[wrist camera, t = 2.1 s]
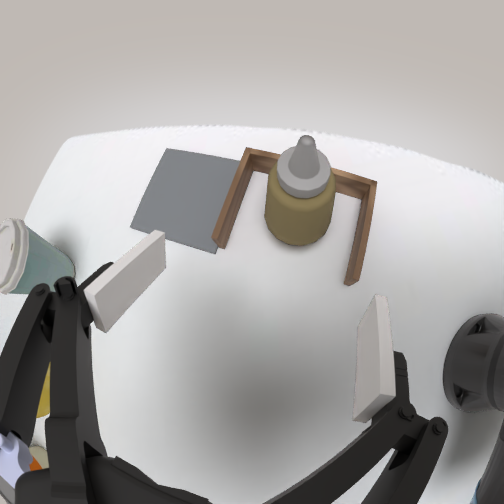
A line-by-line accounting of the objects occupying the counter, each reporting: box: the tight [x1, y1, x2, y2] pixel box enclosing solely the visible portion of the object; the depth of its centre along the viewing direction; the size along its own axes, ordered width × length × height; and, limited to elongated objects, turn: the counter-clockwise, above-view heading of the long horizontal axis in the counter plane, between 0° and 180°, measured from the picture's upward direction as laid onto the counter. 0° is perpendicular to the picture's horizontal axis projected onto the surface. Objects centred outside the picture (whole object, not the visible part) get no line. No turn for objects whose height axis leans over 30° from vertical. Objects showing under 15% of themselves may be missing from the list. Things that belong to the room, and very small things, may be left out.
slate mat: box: [130, 148, 240, 254], centre depth 39 cm, size 14×14×1 cm
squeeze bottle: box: [264, 135, 336, 246], centre depth 27 cm, size 8×8×18 cm
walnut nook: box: [211, 147, 377, 286], centre depth 34 cm, size 18×13×4 cm
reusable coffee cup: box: [0, 446, 49, 504], centre depth 22 cm, size 13×13×15 cm
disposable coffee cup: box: [0, 218, 75, 295], centre depth 31 cm, size 11×11×15 cm
